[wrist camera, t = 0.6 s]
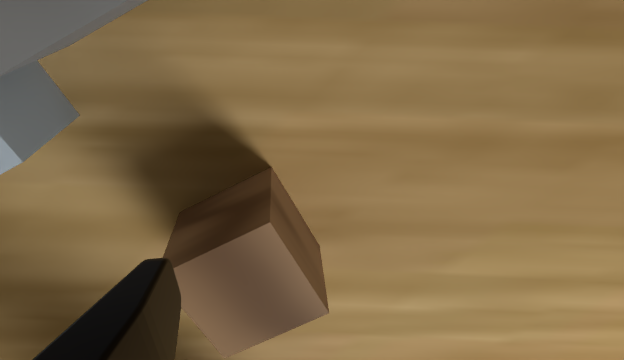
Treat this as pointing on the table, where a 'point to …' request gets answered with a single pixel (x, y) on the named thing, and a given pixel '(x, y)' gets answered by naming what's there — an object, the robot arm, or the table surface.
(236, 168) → the table surface
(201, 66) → the table surface
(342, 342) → the table surface
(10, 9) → the base block
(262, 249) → the walnut cube
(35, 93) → the slate cube
